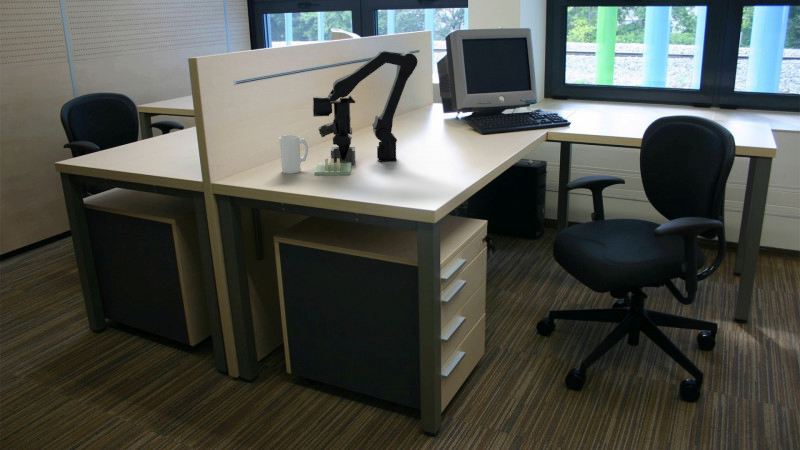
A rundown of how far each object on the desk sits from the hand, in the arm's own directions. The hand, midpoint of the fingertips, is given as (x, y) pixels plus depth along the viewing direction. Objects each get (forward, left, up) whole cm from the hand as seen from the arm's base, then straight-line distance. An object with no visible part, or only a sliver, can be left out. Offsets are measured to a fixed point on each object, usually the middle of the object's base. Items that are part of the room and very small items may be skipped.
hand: (343, 158), depth 240 cm
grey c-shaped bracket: (0, +2, -1) cm, 2 cm away
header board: (+3, +12, -1) cm, 12 cm away
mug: (+16, +12, -1) cm, 20 cm away
